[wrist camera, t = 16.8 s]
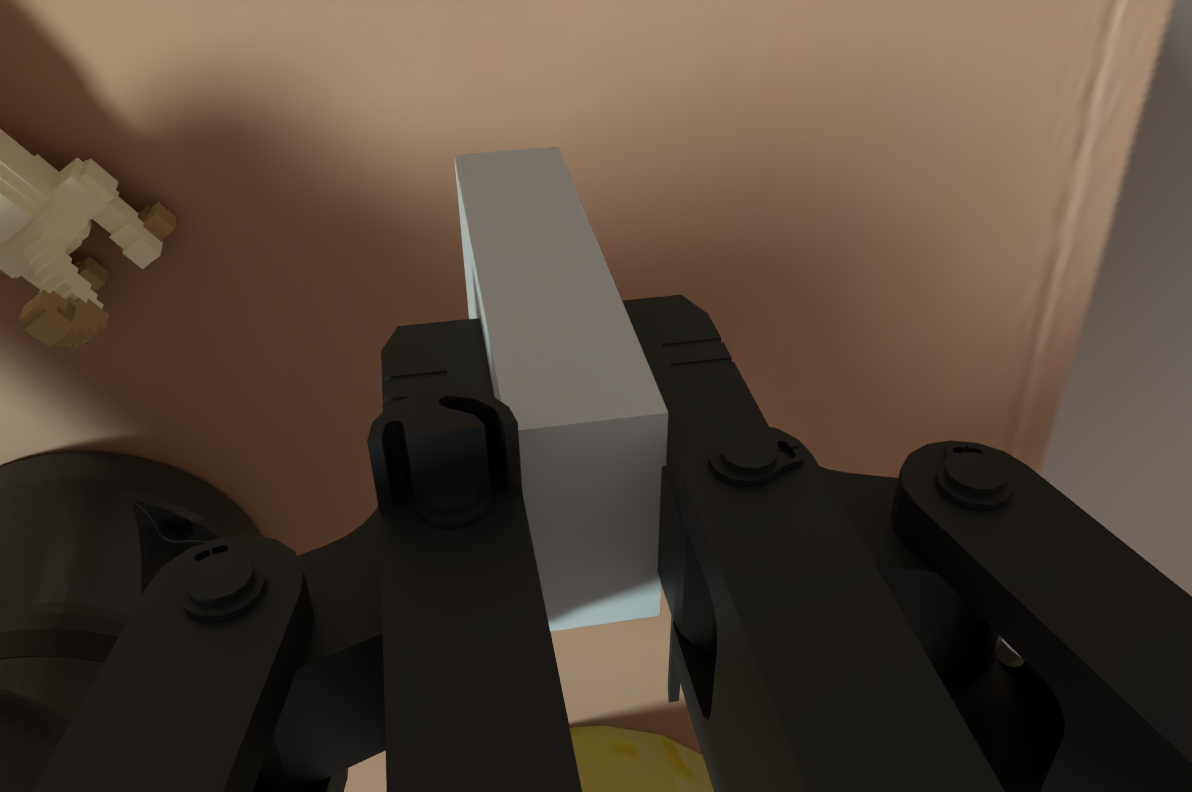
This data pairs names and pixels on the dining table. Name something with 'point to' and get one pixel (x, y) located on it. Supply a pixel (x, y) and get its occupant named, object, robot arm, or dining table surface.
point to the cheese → (636, 762)
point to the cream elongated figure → (67, 239)
